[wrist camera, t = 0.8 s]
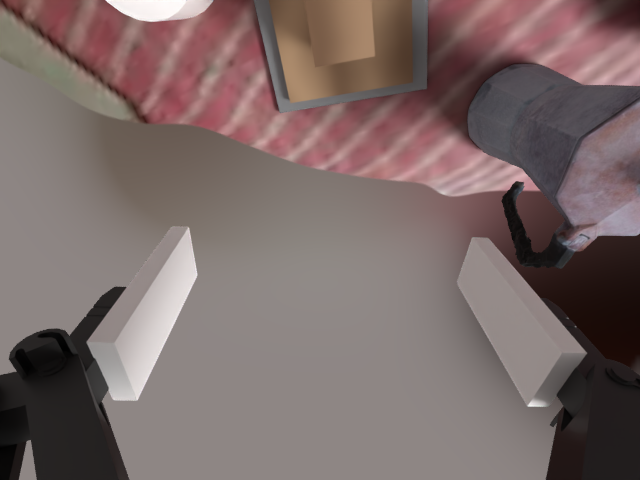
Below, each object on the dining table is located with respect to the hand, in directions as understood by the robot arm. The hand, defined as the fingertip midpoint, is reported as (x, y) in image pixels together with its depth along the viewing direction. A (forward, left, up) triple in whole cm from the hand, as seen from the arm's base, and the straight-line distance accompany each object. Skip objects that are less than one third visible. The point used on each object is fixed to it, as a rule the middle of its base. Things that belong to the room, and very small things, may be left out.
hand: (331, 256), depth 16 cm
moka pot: (-17, +3, -24) cm, 30 cm away
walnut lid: (-1, -8, -23) cm, 25 cm away
